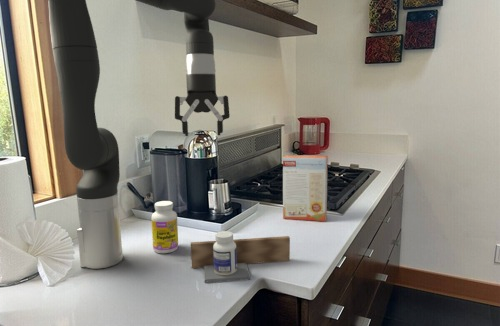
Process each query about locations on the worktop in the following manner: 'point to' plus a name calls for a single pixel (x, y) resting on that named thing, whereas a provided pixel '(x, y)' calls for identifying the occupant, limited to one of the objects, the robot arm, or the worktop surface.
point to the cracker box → (305, 187)
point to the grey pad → (240, 274)
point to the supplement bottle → (164, 228)
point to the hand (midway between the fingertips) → (203, 135)
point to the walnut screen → (245, 251)
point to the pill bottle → (225, 254)
